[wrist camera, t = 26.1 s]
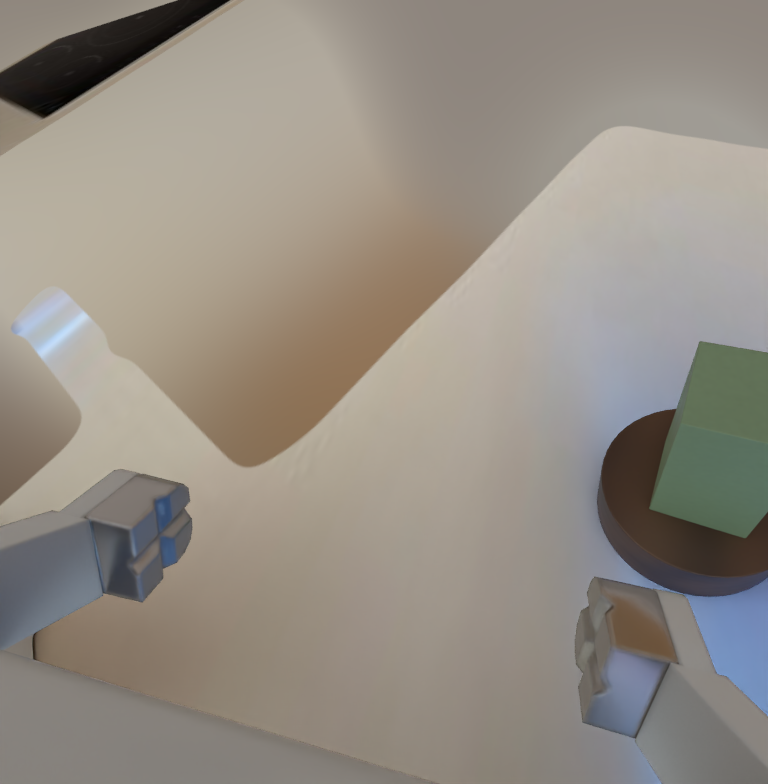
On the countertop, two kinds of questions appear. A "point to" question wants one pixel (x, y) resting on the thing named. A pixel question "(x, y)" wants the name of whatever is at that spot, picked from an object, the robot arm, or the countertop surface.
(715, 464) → the block
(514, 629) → the countertop surface
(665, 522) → the cylinder
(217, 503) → the countertop surface
